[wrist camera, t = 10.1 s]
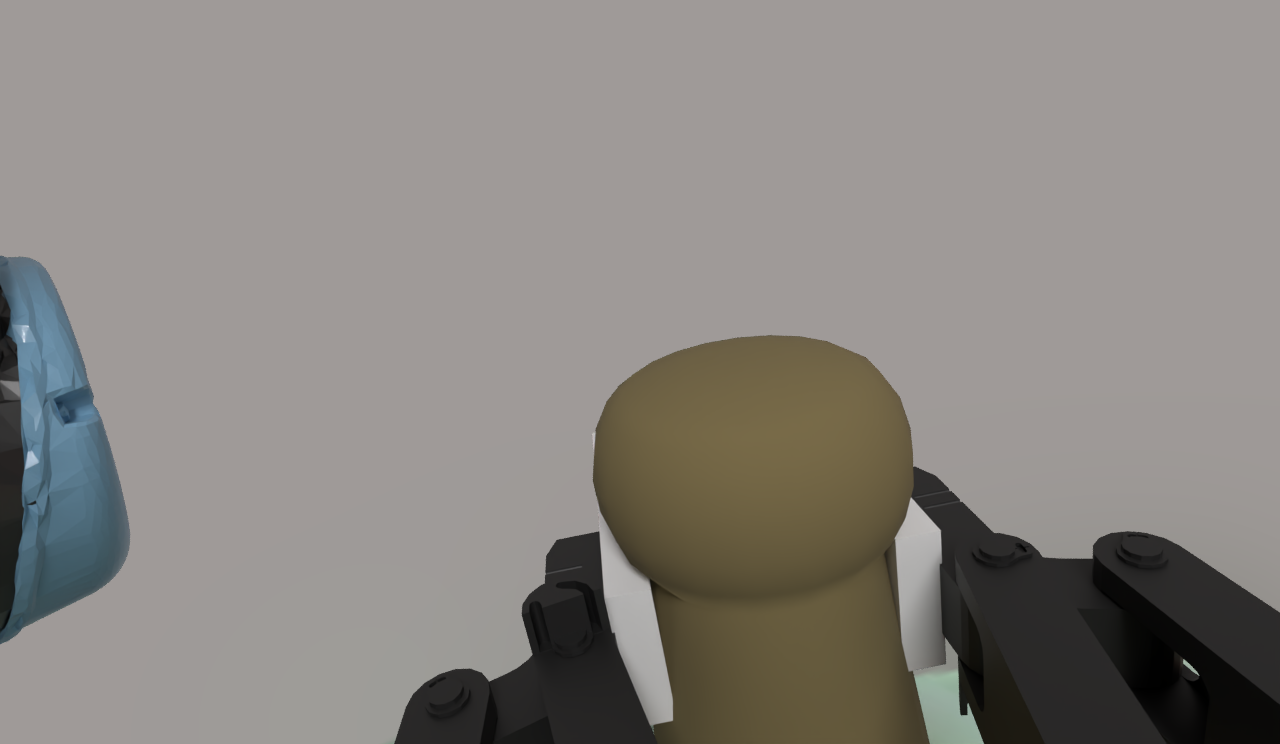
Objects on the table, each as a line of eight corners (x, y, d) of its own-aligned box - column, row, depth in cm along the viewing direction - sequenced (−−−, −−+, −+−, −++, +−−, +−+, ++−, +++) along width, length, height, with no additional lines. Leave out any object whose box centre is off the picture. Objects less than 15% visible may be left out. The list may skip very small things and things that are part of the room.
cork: (636, 772, 18) (537, 348, 14) (868, 705, 19) (832, 283, 15) (700, 1069, 12) (564, 492, 9) (1030, 956, 13) (1037, 377, 9)
